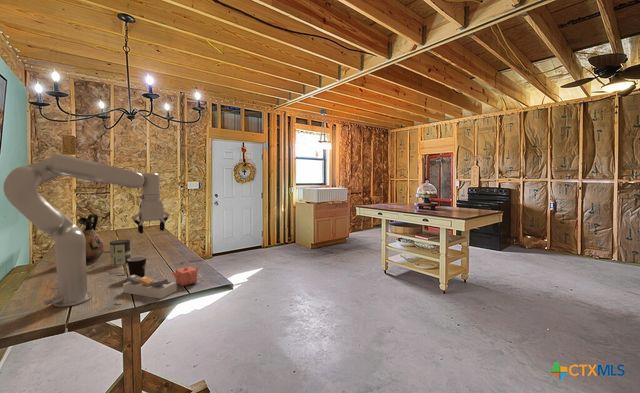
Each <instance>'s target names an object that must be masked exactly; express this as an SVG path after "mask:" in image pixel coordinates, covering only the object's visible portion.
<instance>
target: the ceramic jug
mask: <svg viewBox="0 0 640 393" xmlns="http://www.w3.org/2000/svg"><path fill="white" fill-rule="evenodd" d="M92 219H93V220H92ZM98 221H99V216H98V215H97V214H96V213H92V214H89V215H88V216H87V218H86V217H80V218H79V219H78V223H79V224H80V225H83V226H84V227H85V228H84V229H83V231H82V232H83V234H84V236H85V240H86V265H88V264H93V263H95V262H97V261H99V259H100V257H101V256H102V255H103V253H104V251H105V244H104V242H103V239H102V238H101V236H100V235H99V234H98V233H97V232H96V228H97V225H98Z"/></svg>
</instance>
